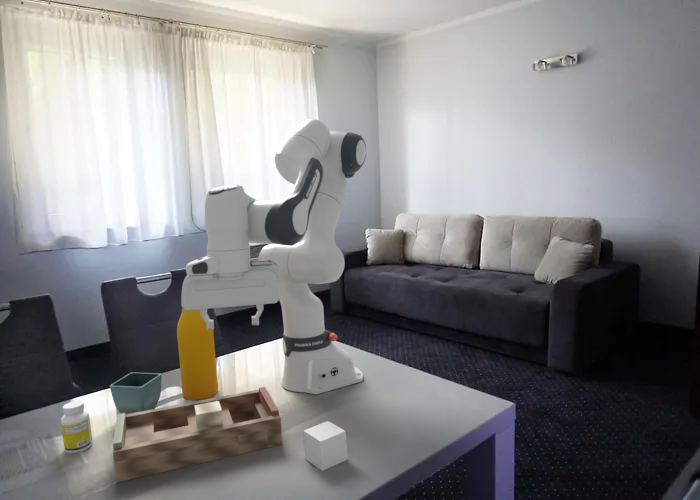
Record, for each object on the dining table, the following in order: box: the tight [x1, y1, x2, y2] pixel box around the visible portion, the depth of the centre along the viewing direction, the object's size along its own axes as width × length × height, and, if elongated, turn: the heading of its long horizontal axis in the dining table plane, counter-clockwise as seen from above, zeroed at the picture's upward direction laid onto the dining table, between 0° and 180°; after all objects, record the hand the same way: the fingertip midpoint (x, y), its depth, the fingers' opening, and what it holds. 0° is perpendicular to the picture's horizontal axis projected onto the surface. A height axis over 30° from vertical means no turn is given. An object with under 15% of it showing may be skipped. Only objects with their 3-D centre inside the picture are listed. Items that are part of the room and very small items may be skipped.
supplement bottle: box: [60, 400, 93, 454], centre depth 109 cm, size 5×5×10 cm
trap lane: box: [112, 386, 283, 483], centre depth 109 cm, size 32×17×7 cm, turn 111°
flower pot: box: [109, 371, 163, 414], centre depth 125 cm, size 9×9×9 cm
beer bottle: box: [176, 307, 219, 401], centre depth 134 cm, size 9×9×29 cm
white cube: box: [303, 420, 348, 472], centre depth 100 cm, size 6×6×6 cm
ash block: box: [195, 401, 223, 431], centre depth 106 cm, size 5×5×5 cm
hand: (233, 326), depth 109 cm, fingers open, 8 cm apart
